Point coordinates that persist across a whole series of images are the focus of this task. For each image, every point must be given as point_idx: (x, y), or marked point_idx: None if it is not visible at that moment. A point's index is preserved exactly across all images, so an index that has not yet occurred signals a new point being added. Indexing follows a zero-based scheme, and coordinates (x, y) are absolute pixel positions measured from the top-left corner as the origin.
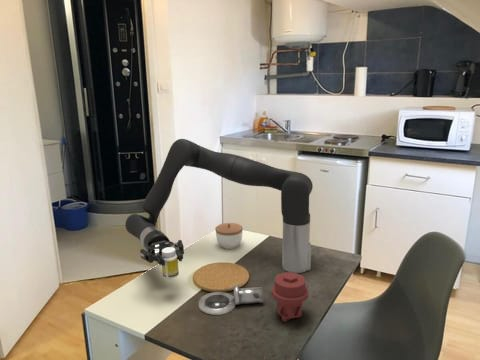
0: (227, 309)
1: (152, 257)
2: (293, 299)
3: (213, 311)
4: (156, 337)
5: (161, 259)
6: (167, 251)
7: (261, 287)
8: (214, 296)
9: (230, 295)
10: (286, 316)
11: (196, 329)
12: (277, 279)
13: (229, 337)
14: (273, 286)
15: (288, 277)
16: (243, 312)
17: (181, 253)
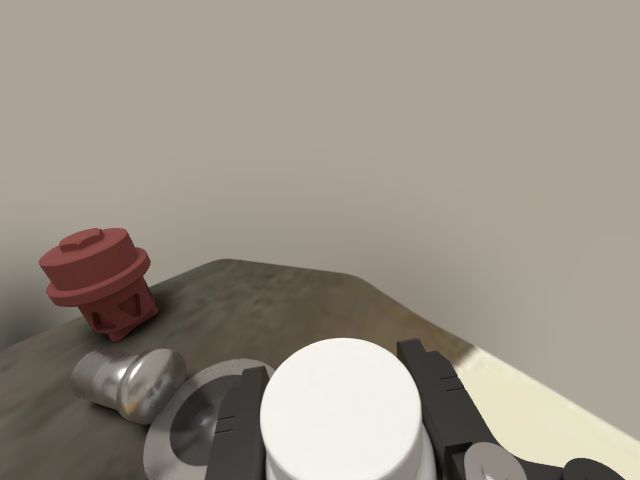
0: (221, 365)
1: (549, 470)
2: (135, 247)
3: None
4: (439, 327)
5: (422, 351)
6: (355, 364)
7: (81, 360)
8: (202, 451)
9: (150, 440)
10: (152, 296)
11: (332, 330)
12: (103, 246)
13: (277, 297)
14: (106, 282)
15: (91, 232)
16: (192, 358)
17: (226, 413)
